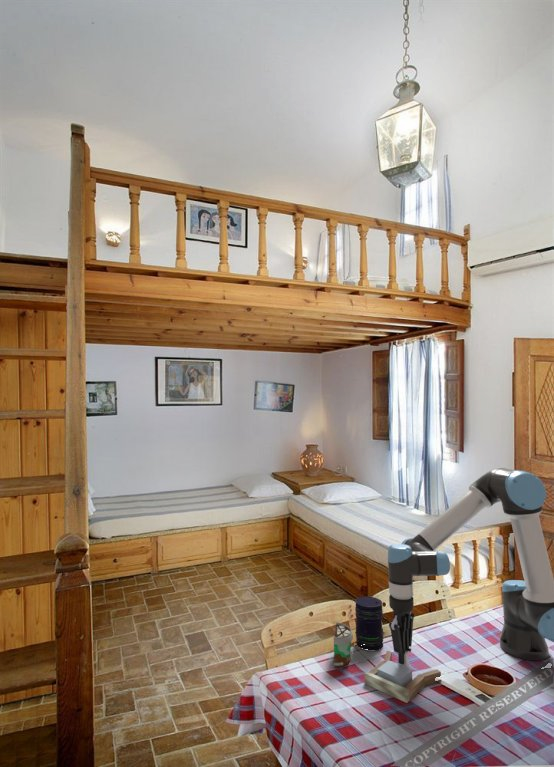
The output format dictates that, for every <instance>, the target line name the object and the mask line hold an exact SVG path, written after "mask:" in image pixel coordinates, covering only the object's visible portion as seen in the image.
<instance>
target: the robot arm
mask: <svg viewBox="0 0 554 767" xmlns="http://www.w3.org/2000/svg"><path fill="white" fill-rule="evenodd" d="M546 489H547V488H546V486H545V484H544V483H543V481H542V479H540V478H539V477H538V476H536V475H535V474H533V473H531V472H528V471H525V470H517V469H509V468H505V467H499V468H494V469H491V470H489V471H488V472H486V473H484V474H483V475H481V476H480V477H479V478H477V479H476V480H475V481H473V482H472V483H471V484H470V485H469V486H468V491H467V492H466V493H465V494H463V495H462V496H461V497H460V498H459V499H458V500H456V501H455V502H454V503H453V504H452V505H450V506H449V507H448V508H447V509H446V510H444V511H443V513H441V514H440V515H439V516H437V517H436V518H435V519H434V520H433V521H432V522H431V523H430V524H428V526H426V527H424V529H422V530H421V531H420V532H419V533H418V534H416V535H415V536H414V537H413V538H412V537H411V538H409V537H407V538H405V539H404V540H403V541H402V542H401V543H393V544H390V545H389V546H388V549H387V566H388V569H387V571H388V592H389V595H388V596H389V597H388V599H389V605H388V606H389V607H390V609H392V611H393V613H392V614H393V615H392V619H393V620H392V621H391V622H389V623H388V626H389V629H390V633H391V641H392V647H393V652H395V653H397V658H398V661H397V662H398V663H397V664H399V665H401V666H404V667H406V668H409V652H410V653H411V652H412V648H411V647H412V644H413V628H414V619H415V613H414V612H412V611H413V610H414V609H415V608H414V607H415V605H414V577H431V576H432V577H436V576H437V577H439V576H446V575H448V574H449V573H450V571H451V563H450V562H451V561H450V558H449V556H448V554H447V552H446V551H444V550H438V548H440V547H441V545H443V544H444V543H445V542H446V541H448V540H449V539H450V538H451V537H452V536H454V534H456V533H457V532H458V531H459V530H461V529H462V528H463V527H464V526H466V525H467V524H468V522H470V521H472V519H473V518H475V517H476V516H477V515H478V514H479V513H480V512H481V511H483V510H484V509H486V508H489V509H490V508H491V507H493V505H495V504H496V503H499V502H501V506H502V509H503V510H502V511H503V513H504V514H505V515H506V516H507V517H509V519H510V523H511V528H512V532H513V536H514V541H515V545H516V550H517V554H518V560H519V562H520V567H521V571H522V576H523V579H524V580H522V579H521V580H520V579H519V580H518V579H511V580H505V581H503V583H502V586H501V593H502V609H503V625H502V629H501V632H500V636H499V646H500V648H501V650H503V651H504V652H505V653H506V654H509V655H512V656H513V657H516V658H519V659H523V660H527V661H544V660H547V658H549V656H550V654H549V653H550V652H549V646H548V644H547V642H546V641H547V640H548V641H549V642H551V643H554V574H553V571H552V566H551V563H550V562H551V561H550V558H549V553H548V549H547V545H546V540H545V536H544V532H543V527H542V523H541V520H540V514H541V513H542V512H543V511H544V510H543V509H544V508H543V505H544V503H545V502H544V501H545V500H546V499H547V490H546ZM409 669H410V668H409Z"/></svg>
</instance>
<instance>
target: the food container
mask: <svg viewBox="0 0 554 767" xmlns="http://www.w3.org/2000/svg"><path fill="white" fill-rule="evenodd" d="M353 640H354V634H353V631H352V628H351V626H349V625H347V624H345V623H342V622H335V632H334V636H333V663H334V665H333V667H334V669H342V668H341V667H343V668H345V666H346V667H348V666H349V665H350V664H349V663H351V655H352V654H351V653H352V651H351V650H352V641H353Z"/></svg>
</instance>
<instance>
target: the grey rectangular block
mask: <svg viewBox="0 0 554 767" xmlns="http://www.w3.org/2000/svg"><path fill="white" fill-rule="evenodd" d="M377 676H379V677H381V678H384V679H386V680H388V681H390V682H393V683H395V684H397V685H399V686H402V687H405V686H406V685H407V684H408V683H410V682H411V681H412V680H413V669H411V668H406V667H404V666H401V665H399V664H398V663H397V662H394V661H392V660H391V661H387V662H386V663H385V664H383V665H382V666H380V667H379V668H378V669H377Z"/></svg>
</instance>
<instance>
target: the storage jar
mask: <svg viewBox="0 0 554 767" xmlns="http://www.w3.org/2000/svg"><path fill="white" fill-rule="evenodd" d="M383 612H384V611H383V601H382V600H381V599H380V598H378V597H375V596H374V597H373V596H360V597H356V598H355V613H354V614H355V618H356V626H355V637H356V638H355V640H356V643H355V644H356V646H357V647H358V648H359V647H360V648H359V649H361V648H363V649H368V650H378V651H380V650H382V649H383V648H384V630H383V618H384V615H383ZM363 644H365V645H363ZM361 645H362V646H361ZM382 647H383V648H382ZM381 648H382V649H381ZM363 649H362V650H363ZM379 649H380V650H379Z"/></svg>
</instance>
